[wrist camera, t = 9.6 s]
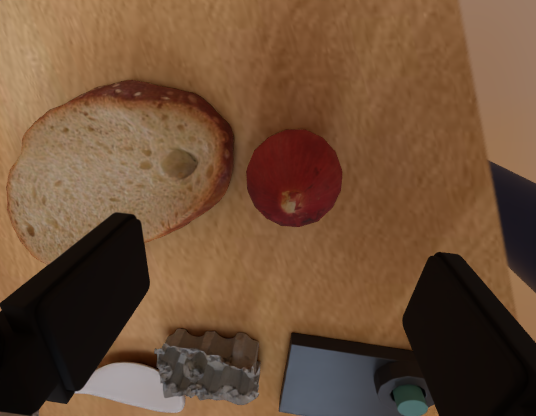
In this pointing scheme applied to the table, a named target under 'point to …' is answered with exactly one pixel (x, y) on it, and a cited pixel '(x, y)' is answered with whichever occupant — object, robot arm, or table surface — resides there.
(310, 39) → the table surface
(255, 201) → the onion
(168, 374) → the egg carton
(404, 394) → the button
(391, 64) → the table surface
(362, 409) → the scale
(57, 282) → the robot arm
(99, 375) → the white plastic spork
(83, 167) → the bread slice
